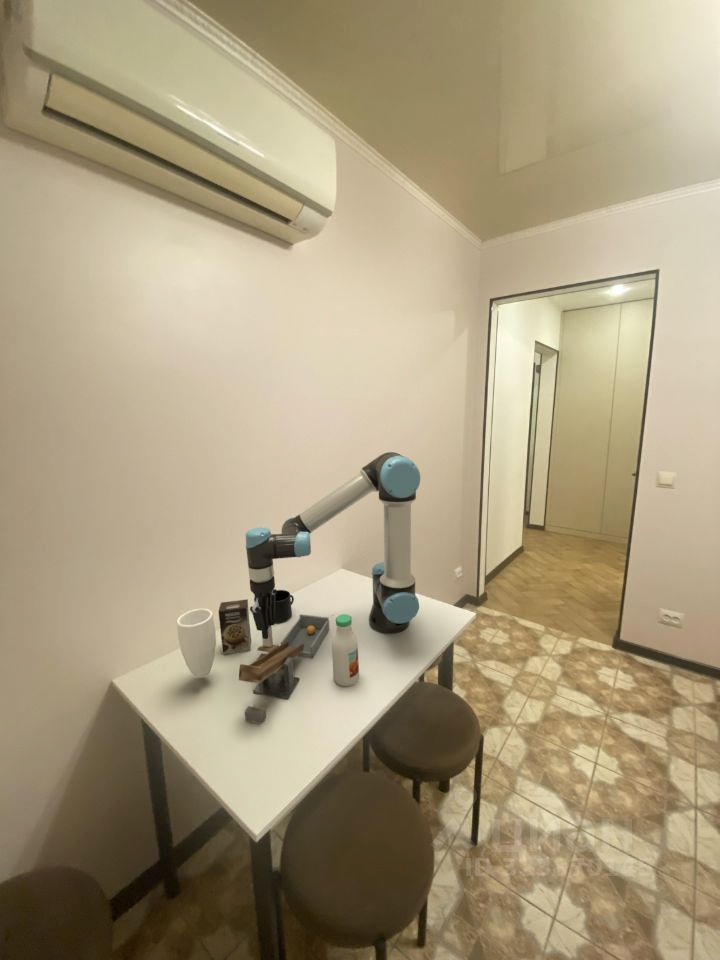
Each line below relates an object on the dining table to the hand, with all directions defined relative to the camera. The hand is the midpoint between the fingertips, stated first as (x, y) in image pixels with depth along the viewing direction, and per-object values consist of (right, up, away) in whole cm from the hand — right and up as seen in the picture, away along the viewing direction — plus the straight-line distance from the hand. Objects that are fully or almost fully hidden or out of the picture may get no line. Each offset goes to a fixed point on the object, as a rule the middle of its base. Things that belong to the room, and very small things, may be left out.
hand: (268, 645), depth 125 cm
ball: (+12, -1, +14) cm, 18 cm away
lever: (+1, -1, -12) cm, 12 cm away
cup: (-18, -8, -8) cm, 21 cm away
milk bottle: (+26, -7, -8) cm, 28 cm away
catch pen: (+11, -3, +10) cm, 15 cm away
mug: (-1, 0, +27) cm, 27 cm away
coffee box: (-12, -5, +8) cm, 15 cm away
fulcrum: (+5, -8, -11) cm, 14 cm away
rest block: (+2, -10, -22) cm, 25 cm away
